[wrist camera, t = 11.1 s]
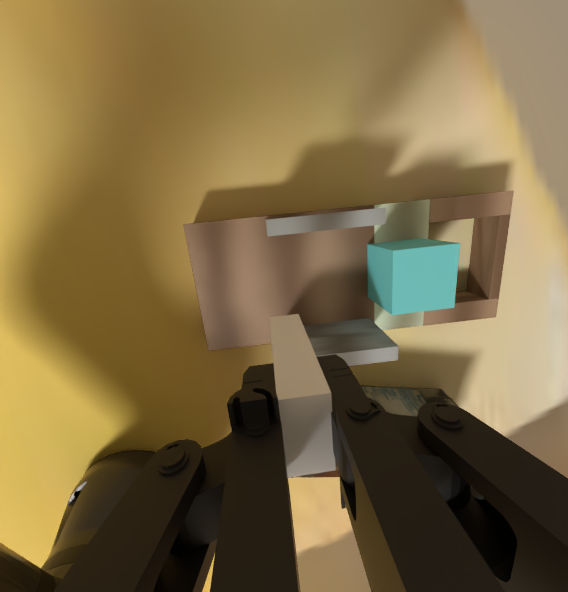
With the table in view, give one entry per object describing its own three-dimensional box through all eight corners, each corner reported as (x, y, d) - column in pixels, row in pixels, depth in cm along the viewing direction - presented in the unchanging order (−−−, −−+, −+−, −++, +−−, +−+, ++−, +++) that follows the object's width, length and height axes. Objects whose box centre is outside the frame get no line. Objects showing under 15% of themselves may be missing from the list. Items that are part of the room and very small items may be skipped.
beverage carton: (426, 438, 35) (462, 487, 29) (282, 434, 33) (285, 485, 27) (442, 386, 33) (483, 426, 26) (287, 379, 31) (293, 421, 25)
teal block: (367, 297, 25) (391, 315, 21) (367, 244, 24) (393, 250, 19) (418, 291, 26) (454, 307, 21) (421, 238, 24) (459, 243, 19)
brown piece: (214, 337, 29) (192, 388, 20) (192, 223, 25) (154, 226, 17) (473, 307, 30) (558, 344, 21) (486, 193, 26) (594, 181, 18)
